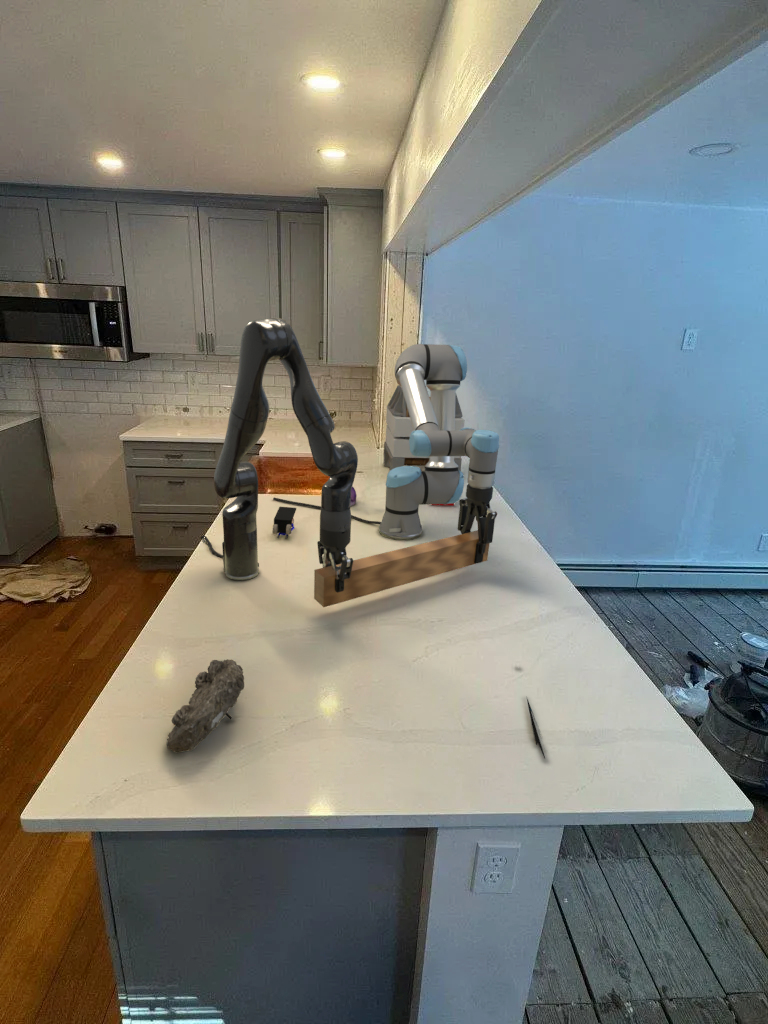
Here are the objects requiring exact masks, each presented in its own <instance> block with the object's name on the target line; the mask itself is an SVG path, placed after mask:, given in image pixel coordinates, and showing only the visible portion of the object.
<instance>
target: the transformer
mask: <svg viewBox="0 0 768 1024" xmlns="http://www.w3.org/2000/svg"><path fill="white" fill-rule="evenodd" d="M429 398H430V396H429ZM385 414H386V415H385V423H386V428H385V438H384V442H383V466H384V467H388V468H389V471H390V470H392V469H394V468H397V467H401V466H416V467H425V465H426V464H427V463H428V462H429V457H422V456H414V455H412V454H411V452H410V445H409V438H410V434H411V432H412V431H414V430H413V426H412V423H411V419H410V416H409V412H408V409H407V405H406V402H405V398H404V394H403V391H402V387H401V386H400V385H399V384H397V386H396V388H395V390H394V392H393V394H392V395H391V398H390V400H389V402H388V404H387V405H386V413H385ZM462 428H465V419H464V418H463V411H462V408H461V405H460V402H459V398H458V395H457V394H456V399H455V431H459V430H460V429H462ZM462 461H463V460H462V456H454V462H455V463H456V464H457V465H458V470H460V471H461V472H462Z"/></svg>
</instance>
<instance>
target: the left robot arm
mask: <svg viewBox="0 0 768 1024" xmlns="http://www.w3.org/2000/svg"><path fill="white" fill-rule="evenodd" d="M239 348H240V349H239V360H238V361H239V362H238V370H237V378H236V383H235V390H234V394H233V399H232V402H231V406H230V411H229V416H228V422H227V428H226V433H225V437H224V440H223V441H224V442H223V445H222V449H221V451H220V455H219V457H218V460H217V463H216V466H215V469H214V473H213V487H214V491H215V493H216V494H217V495H218V497H219V498H222V499H233V498H234V500H233V501H231V502H230V503H229V504H228V505H226V506H225V507H224V508H223V509H222V512H221V513H222V514H221V516H222V529H223V530H222V531H223V532H222V533H223V541H222V543H221V545H222V547H221V548H222V554H221V553H219V552H217V551H216V550H215V549H214V548H213V544H212V542H211V541H210V540H209V538H208V537H207V536H206V535H202V536H201V537H200V539H201V540H203V539H204V540H205V542H206V543H207V545H208V547H209V550H210V552H211V553H213V554H214V555H215V556H217V557H219V558H221V559H222V565H223V573H225V577H226V578H227V579H230V580H233V581H248V580H251V579H254V578H255V577H257V576H258V575H259V574H260V573H259V571H260V570H259V568H260V563H259V550H258V549H259V548H258V526H257V513H258V509H259V476H258V475H259V474H258V471H257V469H256V467H255V465H254V464H253V463H252V462H251V461H242V460H243V459H244V457H245V456H246V455H247V454H248V453H249V451H250V450H251V449H253V447H254V446H255V445H256V444H257V443H258V442H259V440H260V439H261V438H262V436H263V435H264V433H265V431H266V427H267V423H268V418H269V415H270V404H269V403H270V402H269V400H268V397H267V394H266V392H265V389H264V386H263V385H264V384H263V380H264V374H265V372H266V371H265V370H266V368H267V365H268V363H269V362H271V361H277V360H279V361H280V363H281V364H282V366H283V367H284V369H285V370H286V374H287V375H288V379H289V383H290V385H289V386H290V399H291V406H292V410H293V413H294V415H295V418H296V419H297V421H298V422H299V424H300V426H301V428H302V430H303V432H304V433H305V435H306V436H307V437H306V438H307V440H308V445H309V449H310V451H311V456H312V459H313V462H314V465H315V466H316V468H317V469H318V470H319V472H320V473H322V474H323V475H325V476H327V477H329V478H328V480H327V481H326V482H325V483H324V484H323V485H322V487H321V494H320V495H321V497H320V506H321V509H320V511H319V512H320V513H319V540H318V541H317V543H316V544H317V552H318V553H317V554H318V563H319V564H320V565H322V568H324V567H328V566H332V569H333V570H334V571H335V577H336V579H335V591H336V592H337V593H338V592H342V591H343V590H344V580H345V579H349V578H350V576H351V571H352V565H353V560H354V559H353V558H352V557H350V558H349V557H348V556H347V549H346V548H347V546H348V545H349V544H350V543H351V536H352V535H351V534H352V533H351V532H352V518H351V515H352V509H351V507H352V506H351V488H352V486H353V485H354V482H355V478H356V474H357V469H358V465H359V458H358V457H359V456H358V452H357V450H356V447H355V446H354V445H353V444H352V443H350V442H348V441H345V440H343V441H337V442H334V441H333V438H332V433H333V432H334V431H335V429H336V425H335V422H334V420H333V418H332V416H331V415H330V413H329V410H328V409H327V407H326V405H325V403H324V402H323V400H322V398H321V396H320V395H319V392H318V390H317V388H316V385H315V384H314V381H313V379H312V376H311V373H310V371H309V367H308V365H307V361H306V359H305V357H304V354H303V352H302V349H301V346H300V344H299V341H298V339H297V336H296V334H295V331H294V330H293V328H292V326H291V325H290V323H289V322H288V321H286V320H285V319H283V318H280V317H271V318H263V319H262V318H261V319H255V320H252V321H249V322H248V323H246V325H245V327H244V329H243V331H242V334H241V341H240V347H239ZM204 537H205V538H204ZM338 564H341V566H337V567H336V565H338ZM340 569H341V570H340ZM339 570H340V574H339Z"/></svg>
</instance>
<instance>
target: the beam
mask: <svg viewBox="0 0 768 1024" xmlns="http://www.w3.org/2000/svg"><path fill="white" fill-rule="evenodd" d="M477 542H479V538H478V529H477V530H474V531H471V532H469V533H464V534H461V533H460V534H457V535H453V536H452V535H451V536H448V537H445V538H440V539H436V540H432V541H427V542H423V543H419V544H416V545H411V546H407V547H403V548H399V549H395V550H391V551H386V552H383V553H377V554H373V555H370V556H366V557H362V558H357V559H353V565H352V571H351V576H350V578H349V579H345V580H344V590H343V591H342V592H338V593H337V592H336V591H335V579H336V577H335V571H334V570H333V569H332V566H328V567H324V568H323V567H320V568H316V569H314V574H313V576H314V577H313V578H314V579H313V583H314V584H313V588H314V589H313V599H314V600H315V601H316V602H317V603H318V604H319V605H320V606H321V607H322V608H326V607H330V606H334V605H337V604H340V603H344V602H349V601H351V600H354V599H358V598H362V597H365V596H368V595H372V594H376V593H379V592H383V591H386V590H390V589H393V588H396V587H400V586H404V585H407V584H410V583H414V582H417V581H421V580H424V579H425V580H426V579H428V578H432V577H435V576H439V575H442V574H446V573H449V572H453V571H457V570H459V569H463V568H466V567H470V566H474V565H476V564H475V563H474V560H475V551H476V543H477ZM490 545H491V543H489V544H486V550H485V553H484V554H483V562H480V563H485V562H487V561H488V558H489V550H490ZM480 563H479V564H480ZM337 566H341V564H338V565H336V567H337ZM340 570H341V569H340ZM340 570H339V574H340Z"/></svg>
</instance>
